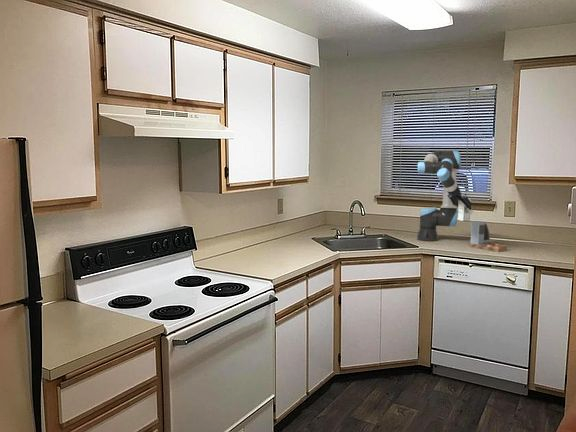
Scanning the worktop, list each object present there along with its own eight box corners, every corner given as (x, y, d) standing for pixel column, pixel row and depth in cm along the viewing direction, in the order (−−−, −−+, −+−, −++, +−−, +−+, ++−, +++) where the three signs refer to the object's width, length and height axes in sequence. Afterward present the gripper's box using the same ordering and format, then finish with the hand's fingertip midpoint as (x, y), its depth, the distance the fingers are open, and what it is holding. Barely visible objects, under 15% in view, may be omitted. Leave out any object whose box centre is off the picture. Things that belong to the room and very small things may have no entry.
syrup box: (463, 219, 343) (464, 198, 341) (469, 220, 337) (470, 198, 336) (456, 220, 340) (457, 198, 338) (463, 221, 335) (464, 199, 333)
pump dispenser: (486, 242, 362) (488, 221, 360) (491, 245, 352) (492, 223, 350) (472, 242, 363) (473, 221, 361) (475, 244, 353) (477, 223, 351)
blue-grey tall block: (470, 243, 348) (471, 221, 346) (476, 242, 351) (477, 220, 349) (479, 244, 342) (480, 222, 340) (484, 243, 345) (485, 222, 343)
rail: (468, 246, 347) (468, 241, 347) (476, 244, 352) (476, 240, 352) (498, 252, 328) (498, 247, 328) (507, 250, 333) (507, 245, 333)
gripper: (437, 191, 336) (452, 214, 347) (461, 193, 320) (476, 217, 331) (443, 183, 338) (458, 206, 349) (467, 184, 322) (482, 209, 333)
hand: (467, 212), depth 340 cm, fingers closed on syrup box, 6 cm apart
